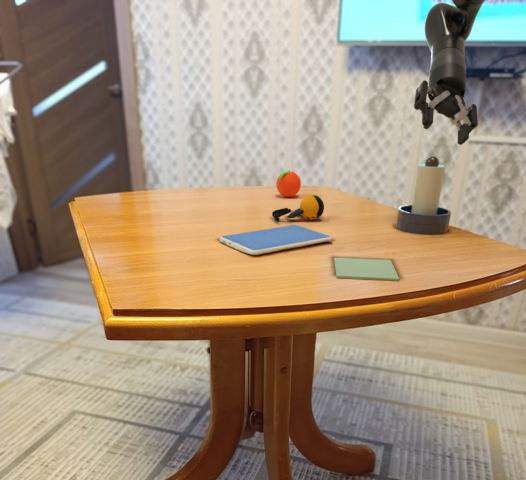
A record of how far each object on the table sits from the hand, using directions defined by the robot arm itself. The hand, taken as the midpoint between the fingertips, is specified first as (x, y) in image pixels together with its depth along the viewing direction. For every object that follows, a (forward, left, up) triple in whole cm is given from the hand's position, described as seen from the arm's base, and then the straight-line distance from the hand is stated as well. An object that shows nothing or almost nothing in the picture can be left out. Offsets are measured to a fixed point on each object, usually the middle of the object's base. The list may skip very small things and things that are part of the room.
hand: (445, 134), depth 104 cm
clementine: (+33, -32, -20) cm, 50 cm away
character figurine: (+29, -4, -20) cm, 35 cm away
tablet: (+33, +17, -20) cm, 42 cm away
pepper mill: (+2, +2, -19) cm, 19 cm away
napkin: (+17, +32, -20) cm, 41 cm away
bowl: (+2, +2, -20) cm, 20 cm away
